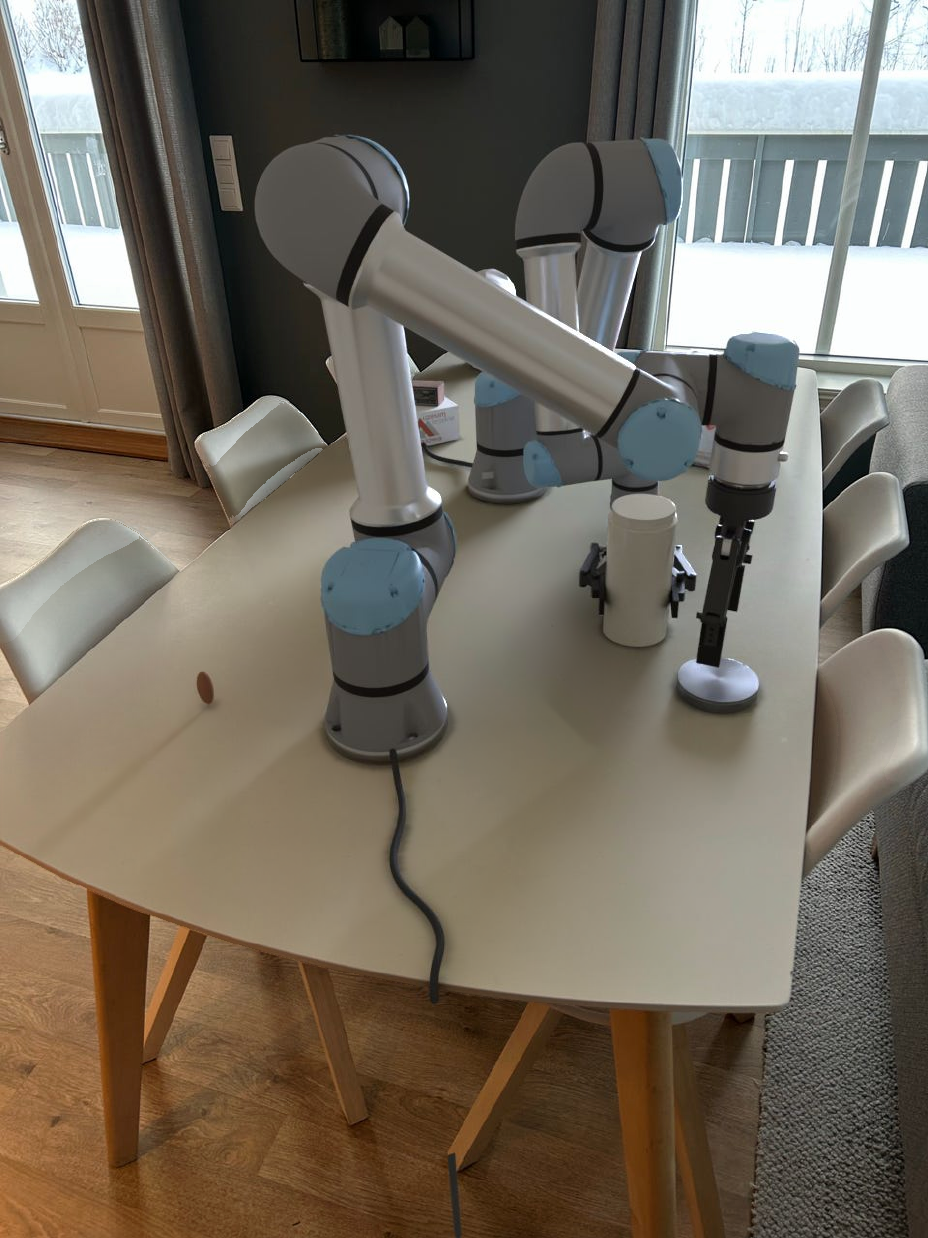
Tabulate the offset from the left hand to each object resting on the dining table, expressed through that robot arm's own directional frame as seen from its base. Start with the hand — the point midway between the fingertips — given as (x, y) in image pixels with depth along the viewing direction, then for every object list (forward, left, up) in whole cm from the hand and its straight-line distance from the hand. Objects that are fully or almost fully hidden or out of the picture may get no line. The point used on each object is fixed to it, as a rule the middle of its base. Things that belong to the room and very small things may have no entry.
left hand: (717, 635), depth 113 cm
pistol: (+135, -3, -8) cm, 135 cm away
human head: (+142, +56, -8) cm, 152 cm away
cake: (+86, -4, -8) cm, 87 cm away
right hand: (+9, +10, -2) cm, 13 cm away
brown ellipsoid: (-13, +64, -8) cm, 66 cm away
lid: (0, -1, -7) cm, 7 cm away
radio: (+87, +64, -8) cm, 108 cm away
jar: (+13, +10, -8) cm, 19 cm away
